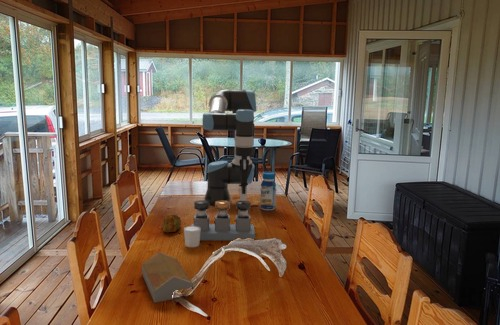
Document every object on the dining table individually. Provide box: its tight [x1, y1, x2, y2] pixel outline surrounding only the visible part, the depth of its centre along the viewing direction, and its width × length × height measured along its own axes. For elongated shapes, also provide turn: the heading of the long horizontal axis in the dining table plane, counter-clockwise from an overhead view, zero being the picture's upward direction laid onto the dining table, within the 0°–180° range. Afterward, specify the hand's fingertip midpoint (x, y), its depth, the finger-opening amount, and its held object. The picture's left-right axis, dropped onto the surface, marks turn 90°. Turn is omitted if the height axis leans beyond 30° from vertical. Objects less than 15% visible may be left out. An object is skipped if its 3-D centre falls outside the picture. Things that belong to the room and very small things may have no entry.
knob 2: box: [235, 200, 252, 218], centre depth 169 cm, size 6×6×7 cm
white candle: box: [183, 225, 201, 248], centre depth 159 cm, size 7×7×7 cm
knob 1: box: [193, 199, 210, 218], centre depth 168 cm, size 6×6×7 cm
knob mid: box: [214, 200, 231, 218], centre depth 169 cm, size 6×6×7 cm
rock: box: [162, 213, 182, 233], centre depth 176 cm, size 11×8×10 cm
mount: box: [190, 213, 256, 241], centre depth 170 cm, size 12×28×8 cm, turn 93°
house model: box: [141, 251, 195, 304], centre depth 125 cm, size 20×12×8 cm, turn 25°
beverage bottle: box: [259, 171, 277, 211], centre depth 212 cm, size 8×8×20 cm
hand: (243, 200), depth 168 cm, fingers closed
